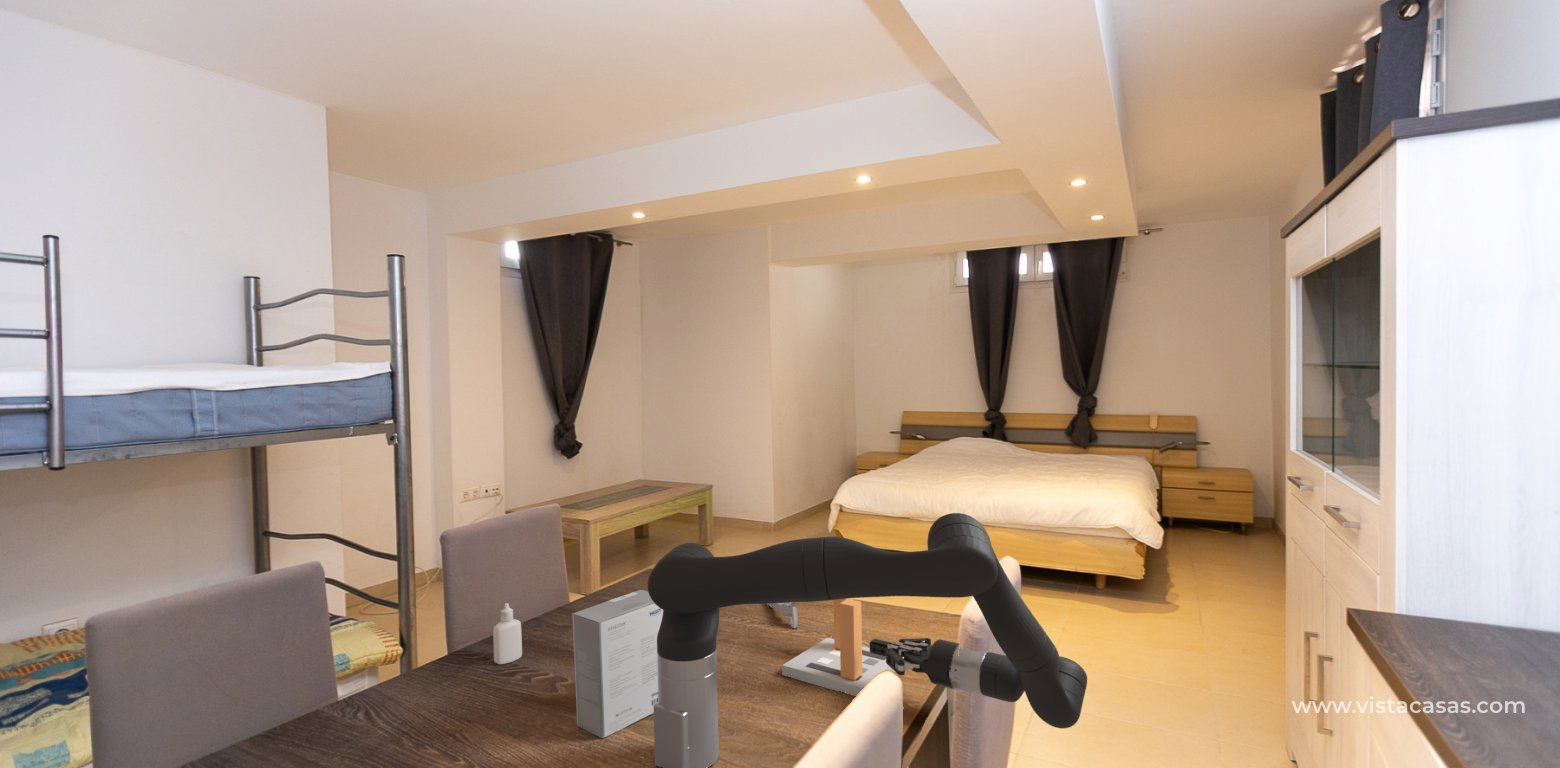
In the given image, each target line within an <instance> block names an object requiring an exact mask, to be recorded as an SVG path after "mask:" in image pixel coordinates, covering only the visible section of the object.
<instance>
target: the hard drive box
mask: <svg viewBox="0 0 1560 768" xmlns="http://www.w3.org/2000/svg"><path fill="white" fill-rule="evenodd" d="M662 616H663V609H661V608H659V607H658V606H657V605H656V604H655V603H654V602H653V601H652V599H651V597H650V595H649V593H648V590H644V589H638V590H635V591H632V592H630V593H627V594H624V595H621V596H619V597H616V598H612V599H610V600H606V601H603V602H601V603H599V604H596V605H593V606H591V607H588V608H584V609H582V610H578V611H576V612H574V613H573V612H572V633H573V637H572V638H573V658H574V677H575V678H574V680H575V681H574V682H575V697H576V700H575V701H576V703H575V705H576V724H577V727H579V728H581V729H583V730H585V731H587V732H589V733H590V734H592V735H595V736H596V737H598V738H600V739H604V738H606V737H609V736H610V735H612V734H615V733H617V732H619V731H621V730H623V729H625V728H627V727H628V726H630V725H633V724H635V723H636V722H638V721H641V720H642V719H644V718H646V717H648V716H650V715H654V705H655V704H656V703H658V665H657V635H658V631H659V628H660V625H661V621H662Z"/></svg>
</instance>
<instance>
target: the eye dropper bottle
mask: <svg viewBox="0 0 1560 768" xmlns="http://www.w3.org/2000/svg"><path fill="white" fill-rule="evenodd" d="M492 631H493V636H492V637H493V661H494V663H495V664H497V665H505V664H509V663H512V662H514V661H517V660H518V659H520V658H522V656H523V640H522V639H523V638H522V622H521V621H520V620H518V619H515V618H514V609H513V608H511V607H510V604H509V603H508V602H507V603H504V606H503V609H501V610H500V621H499V622H498V623H497V624H496V625H494V627H493V630H492Z"/></svg>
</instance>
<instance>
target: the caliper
mask: <svg viewBox="0 0 1560 768" xmlns="http://www.w3.org/2000/svg"><path fill="white" fill-rule="evenodd" d="M768 605H769V606H770V608H772V609H775V610H778V611H781V612H782V615H783V616H787V618H788V622H789V626H790V625H793V627H792V629H793V628H794V629H798V625H799V624H798V609H797V606H796V602H788V603H771V604H768ZM769 606H768V607H769Z"/></svg>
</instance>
